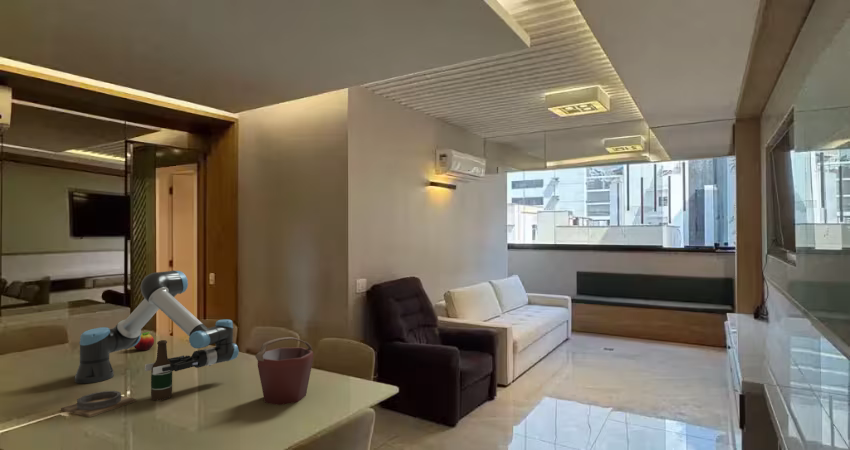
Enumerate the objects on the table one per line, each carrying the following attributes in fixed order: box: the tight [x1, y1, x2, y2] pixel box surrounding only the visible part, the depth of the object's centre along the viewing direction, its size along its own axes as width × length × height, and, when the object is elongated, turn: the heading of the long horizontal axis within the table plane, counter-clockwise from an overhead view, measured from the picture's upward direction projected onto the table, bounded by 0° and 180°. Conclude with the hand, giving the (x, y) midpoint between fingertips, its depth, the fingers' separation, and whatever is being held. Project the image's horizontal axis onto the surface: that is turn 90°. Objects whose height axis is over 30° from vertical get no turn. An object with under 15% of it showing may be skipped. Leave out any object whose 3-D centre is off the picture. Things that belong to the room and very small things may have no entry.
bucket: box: [254, 336, 314, 406], centre depth 194 cm, size 24×22×25 cm
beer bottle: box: [150, 339, 173, 401], centre depth 194 cm, size 8×8×24 cm
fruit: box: [133, 331, 155, 352], centre depth 277 cm, size 11×11×10 cm
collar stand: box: [60, 390, 137, 418], centre depth 185 cm, size 18×18×4 cm
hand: (149, 369), depth 190 cm, fingers closed on beer bottle, 7 cm apart
